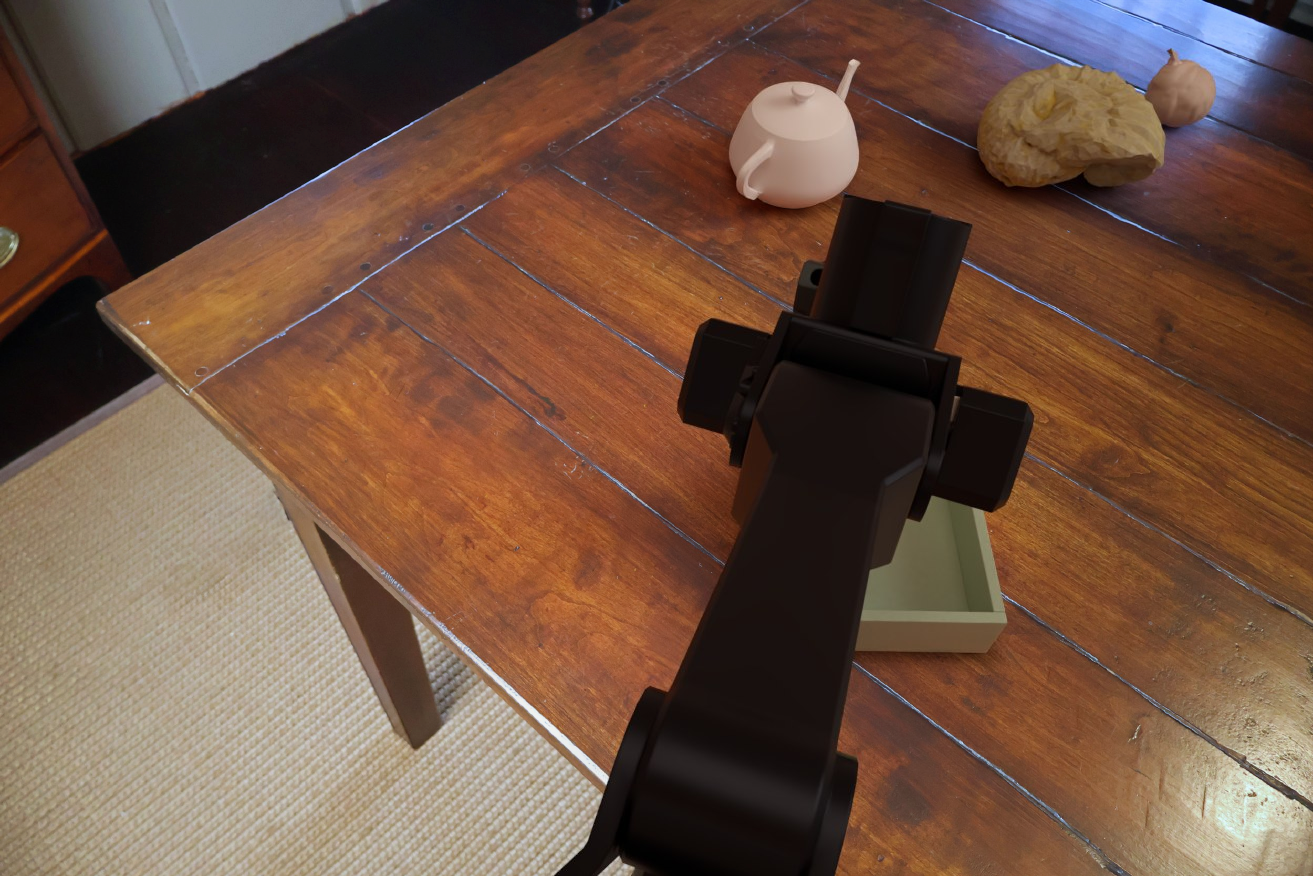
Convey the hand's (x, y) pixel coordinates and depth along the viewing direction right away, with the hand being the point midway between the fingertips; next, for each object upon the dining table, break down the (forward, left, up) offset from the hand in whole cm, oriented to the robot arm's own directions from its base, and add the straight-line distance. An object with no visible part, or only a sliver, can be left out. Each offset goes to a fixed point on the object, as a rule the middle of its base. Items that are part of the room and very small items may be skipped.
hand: (852, 400), depth 62 cm
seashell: (+39, -27, -13) cm, 49 cm away
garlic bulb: (+48, -41, -13) cm, 65 cm away
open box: (-4, -4, -13) cm, 14 cm away
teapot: (+38, -1, -13) cm, 41 cm away
